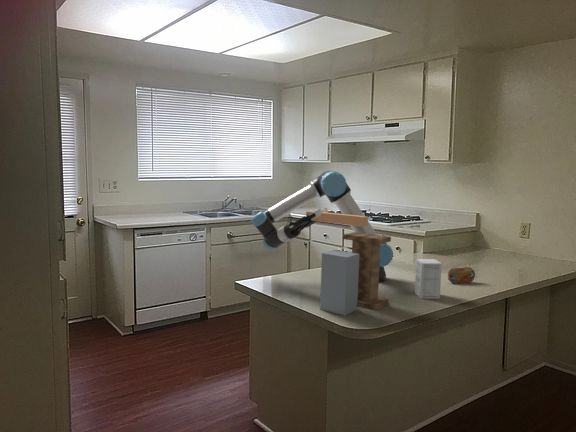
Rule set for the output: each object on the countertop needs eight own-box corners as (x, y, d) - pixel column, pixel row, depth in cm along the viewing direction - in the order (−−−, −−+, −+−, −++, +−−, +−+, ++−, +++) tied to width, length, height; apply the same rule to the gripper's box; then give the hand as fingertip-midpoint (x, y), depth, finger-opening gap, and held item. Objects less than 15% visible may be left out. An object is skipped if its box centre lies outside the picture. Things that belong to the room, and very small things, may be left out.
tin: (449, 284, 249) (450, 268, 248) (446, 282, 252) (447, 267, 251) (474, 283, 253) (475, 267, 252) (471, 281, 256) (472, 266, 255)
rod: (306, 220, 222) (306, 211, 222) (311, 219, 225) (311, 210, 225) (362, 226, 203) (363, 217, 203) (367, 225, 206) (368, 216, 206)
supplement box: (433, 293, 231) (435, 258, 229) (440, 299, 222) (442, 263, 220) (413, 293, 231) (415, 258, 229) (419, 298, 222) (421, 262, 220)
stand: (339, 301, 215) (341, 234, 211) (353, 295, 224) (355, 231, 220) (375, 310, 204) (378, 239, 200) (388, 303, 213) (391, 236, 209)
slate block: (320, 309, 203) (321, 253, 200) (333, 303, 211) (335, 249, 208) (344, 315, 196) (346, 257, 193) (357, 309, 203) (359, 253, 200)
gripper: (302, 237, 237) (337, 217, 223) (280, 241, 224) (316, 220, 210) (296, 223, 239) (331, 202, 225) (274, 226, 226) (309, 204, 212)
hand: (324, 211), depth 218 cm, fingers closed on rod, 4 cm apart
